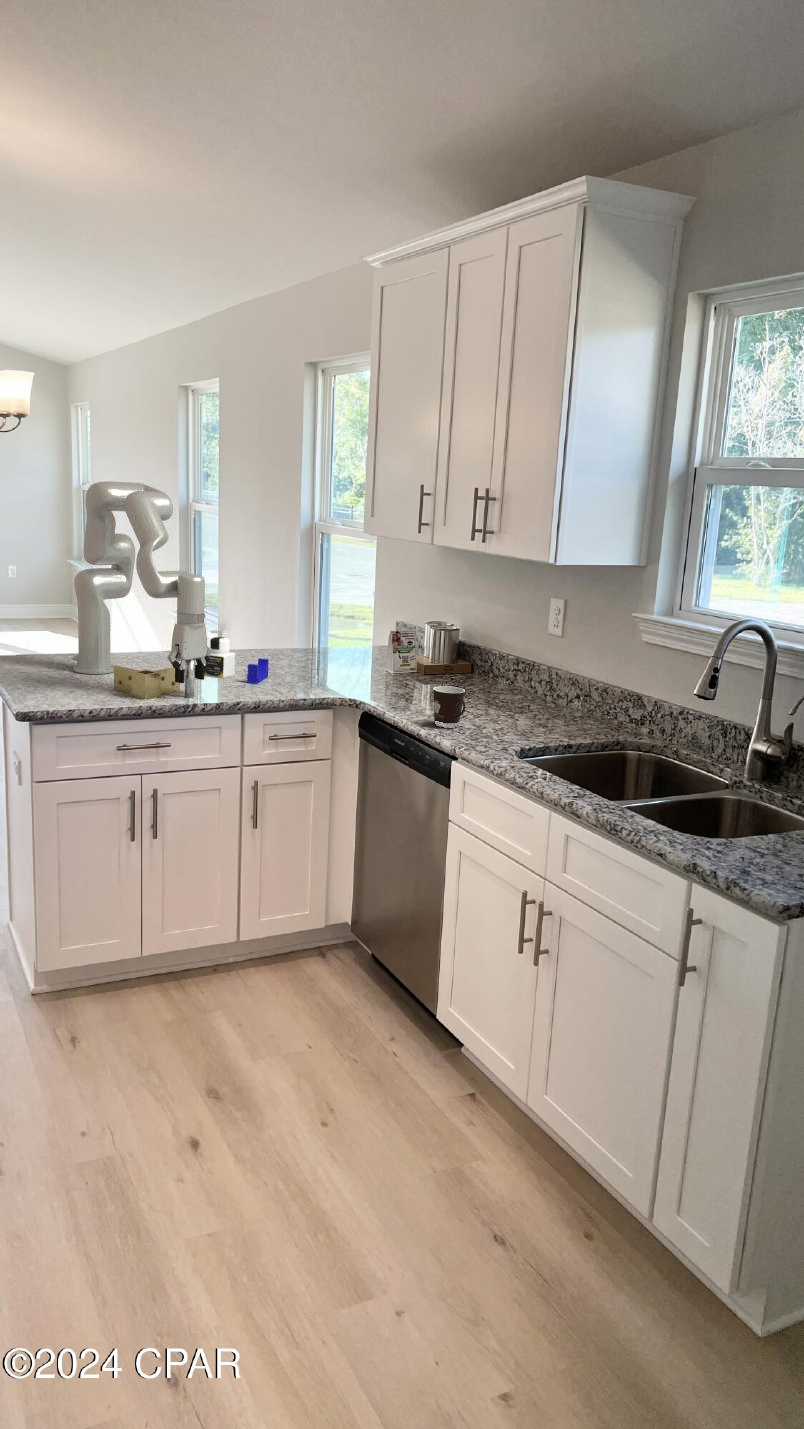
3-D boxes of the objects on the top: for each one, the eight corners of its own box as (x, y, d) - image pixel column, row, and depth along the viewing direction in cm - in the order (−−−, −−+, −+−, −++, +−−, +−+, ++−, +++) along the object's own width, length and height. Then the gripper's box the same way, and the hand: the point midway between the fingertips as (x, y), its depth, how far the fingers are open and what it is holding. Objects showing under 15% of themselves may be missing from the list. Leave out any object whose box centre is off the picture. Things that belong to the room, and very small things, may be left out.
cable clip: (254, 676, 330) (255, 657, 329) (268, 677, 329) (268, 659, 328) (242, 683, 319) (243, 664, 317) (256, 684, 318) (257, 665, 317)
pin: (180, 696, 295) (181, 651, 292) (189, 695, 297) (190, 650, 295) (189, 698, 293) (190, 653, 290) (198, 697, 296) (198, 652, 293)
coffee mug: (428, 721, 284) (431, 685, 282) (460, 722, 285) (462, 687, 283) (433, 731, 273) (436, 694, 271) (466, 733, 274) (468, 696, 272)
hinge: (107, 690, 297) (107, 666, 295) (148, 683, 309) (148, 660, 308) (145, 699, 288) (145, 675, 287) (186, 692, 301) (186, 668, 299)
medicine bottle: (203, 675, 325) (204, 637, 323) (215, 672, 332) (216, 635, 329) (223, 678, 323) (224, 640, 320) (235, 675, 329) (236, 637, 327)
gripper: (203, 614, 299) (201, 675, 303) (157, 619, 285) (157, 682, 289) (222, 618, 295) (220, 679, 299) (177, 623, 281) (176, 687, 285)
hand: (189, 680), depth 294 cm, fingers open, 7 cm apart
